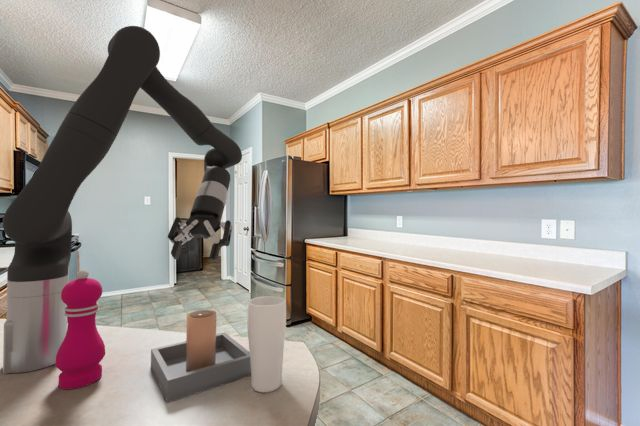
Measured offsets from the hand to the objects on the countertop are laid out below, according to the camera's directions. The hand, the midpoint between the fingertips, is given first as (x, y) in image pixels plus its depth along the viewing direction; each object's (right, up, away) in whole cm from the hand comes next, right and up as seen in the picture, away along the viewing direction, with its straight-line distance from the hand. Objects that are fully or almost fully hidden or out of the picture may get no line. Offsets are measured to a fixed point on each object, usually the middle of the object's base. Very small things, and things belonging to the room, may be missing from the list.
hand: (193, 259), depth 72 cm
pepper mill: (-14, -20, -16) cm, 29 cm away
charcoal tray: (+6, -20, -12) cm, 24 cm away
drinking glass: (+20, -20, -17) cm, 33 cm away
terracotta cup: (+6, -19, -12) cm, 23 cm away
